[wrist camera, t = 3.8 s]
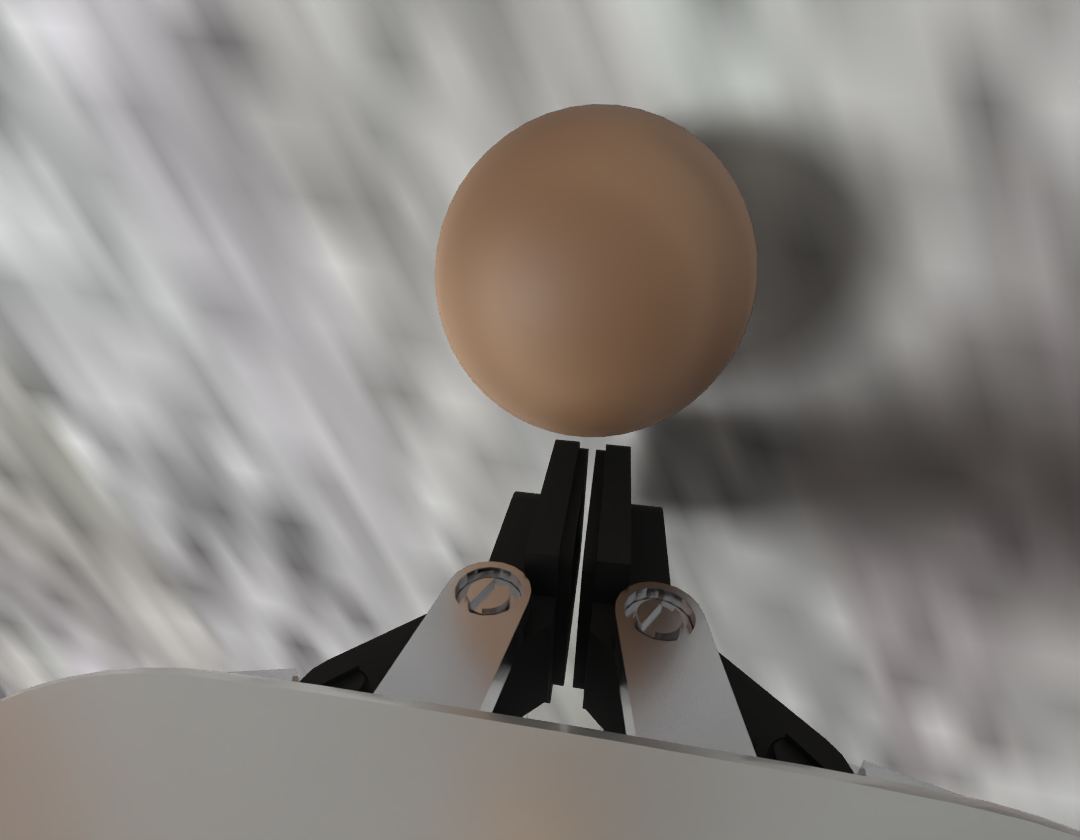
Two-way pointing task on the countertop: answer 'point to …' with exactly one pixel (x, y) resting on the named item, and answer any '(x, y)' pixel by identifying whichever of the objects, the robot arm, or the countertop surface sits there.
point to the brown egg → (596, 270)
